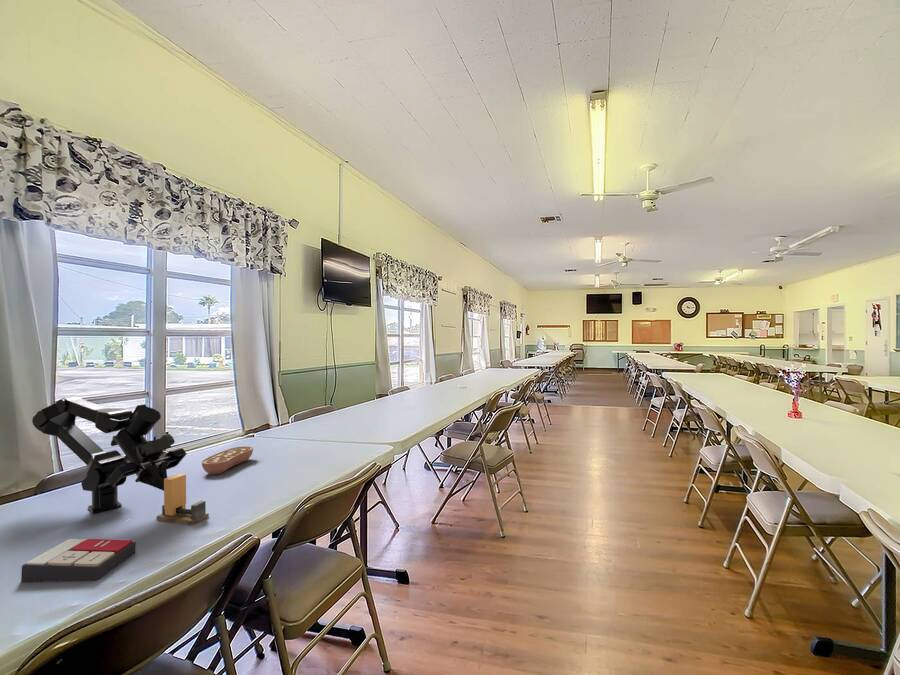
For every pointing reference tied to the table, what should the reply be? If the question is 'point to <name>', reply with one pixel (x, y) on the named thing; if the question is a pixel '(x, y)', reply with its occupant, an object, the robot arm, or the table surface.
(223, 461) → the brown oval piece
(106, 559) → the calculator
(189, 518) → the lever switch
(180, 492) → the orange slab
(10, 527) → the table surface
